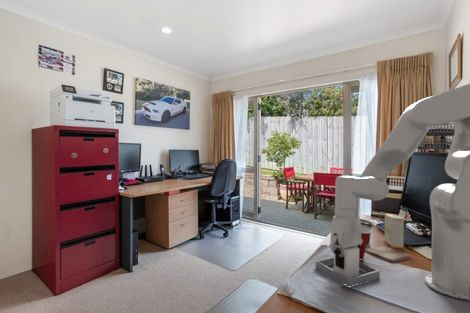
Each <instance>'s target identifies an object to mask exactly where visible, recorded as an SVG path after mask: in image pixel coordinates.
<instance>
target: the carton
mask: <svg viewBox="0 0 470 313" xmlns="http://www.w3.org/2000/svg"><path fill="white" fill-rule="evenodd" d="M339 246H340V245H339ZM340 250H341V248H339V251H340ZM333 257H334V265H333V270H334V271H336V272H338V273H340V274H342V275H344V276H345V277H347V278H349V277H351V278H353V277H352V276H354V277H356V275H358V276H360V269H359V262H360V261H359V248H357V247H354V246H352V247H348V248H345V249H344V254H343V257H344V269H341V268H339V267H337V266H336V265H335V254H334V253H333ZM349 279H350V278H349Z"/></svg>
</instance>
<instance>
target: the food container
mask: <svg viewBox="0 0 470 313" xmlns="http://www.w3.org/2000/svg"><path fill="white" fill-rule="evenodd" d="M360 223H361V227H365V228H368V229H370V230H371V231H372V229H373V228H374V225H373V222H372V221H370V220H367V219H363V218H360ZM371 233H372V232H371ZM371 233H370V235H369V238H368V241H367V246H369V245H370V242H371V235H372V234H371Z"/></svg>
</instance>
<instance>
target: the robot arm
mask: <svg viewBox="0 0 470 313" xmlns="http://www.w3.org/2000/svg"><path fill="white" fill-rule="evenodd" d="M449 123H452V124H453V127H454V135H453V139H452V142H451V145H450V147H449V151H448V154H447V157H446V160H445V162H444V170H445V173H446V174H447V176H449V177H450V178H452V179H455V180H457V181H456V183H442V184H439V185H438V186H435V187H434V189H433V190H432V191H431V193H430V196H429V207H430V208H429V209H430V213H431V215H430V216H431V229H432V230H431V265H430V266H431V269H430V272H431V273H430V274H429V275H426V276H425V277H424V283H425V282H426V283H425V284H426V285H427V286H428V287H429V288H430V287H431V288H430V289H432V288H433V289H434V291H435V290H436V291H435V292H437V291H439V292H441V293H440V294H442V293H445V294H447V295H450V296H453V297H456V298H455V299H457V298H462V299H470V83H467V84H464V85H462V86H459V87H456V88H453V89H450V90H447V91H444V92H441V93H438V94H435V95H432V96H429V97H426V98H422V99H421V100H418V101H417V102H414V103H412V104H411V105H409V106H408V107H407V108H405V110H404V111H403V112H402V114H401V116H400V117H399V119H398V120H397V122H396V123H395V125H394V126H393V128H392V130H391V132H390V133H389V134H388V136H387V137H386V139H385V140H384V141H383V144H382V145H381V146H380V147H379V149H378V150H377V151H376V153H375V155H374V156H373V157H372V158H371V160H369V162H368V164H367V165H366V167H365V168H364V169H363V171H362V173H361V175H360V176H359V177H357V176H354V175H339V176H336V178H335V184H334V185H335V188H334V189H335V190H334V192H335V193H334V194H335V195H334V215H333V217H332V221H331V226H330V227H331V228H330V238H329V240H330V241H329V242H330V243H329V245H328V248H329V249H330V250H331V251H332V252H333V255H334V254H335V265H336V266H337V267H339V268H341V269H344V257H343V254H344V249H345V248H348V247H352V246H354V247H357V248H360V245H361V244H362V243H363V240H362V238H361V223H360V219H361V218H360V206H361V205H360V201H361V200H360V199H363V200H368V201H381V200H383V199H385V198H387V196H388V195H389V192H390V187H389V185H388V183H387V182H386V180H387V178H388V177H389V176H390V175H391V173H392V172H393V171H394V170H395V169H396V168H397V167H399V165H401V164H403V163H404V162H406V161H408V160H409V159H410V158H411V157H412V156H413V155H414V153H415V151H416V150H417V149H418V147H419V146H420V143H422V140H423V139H424V137H425V136H426V135H427V134H428V132H429V130H430V129H431V128H434V127H439V126H441V125H445V124H449ZM339 245H340V246H339ZM339 248H341V250H340V251H339ZM433 289H432V290H433ZM439 292H438V293H439ZM447 295H446V296H447ZM450 296H449V297H450ZM453 297H452V298H453ZM462 299H461V300H462Z"/></svg>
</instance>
